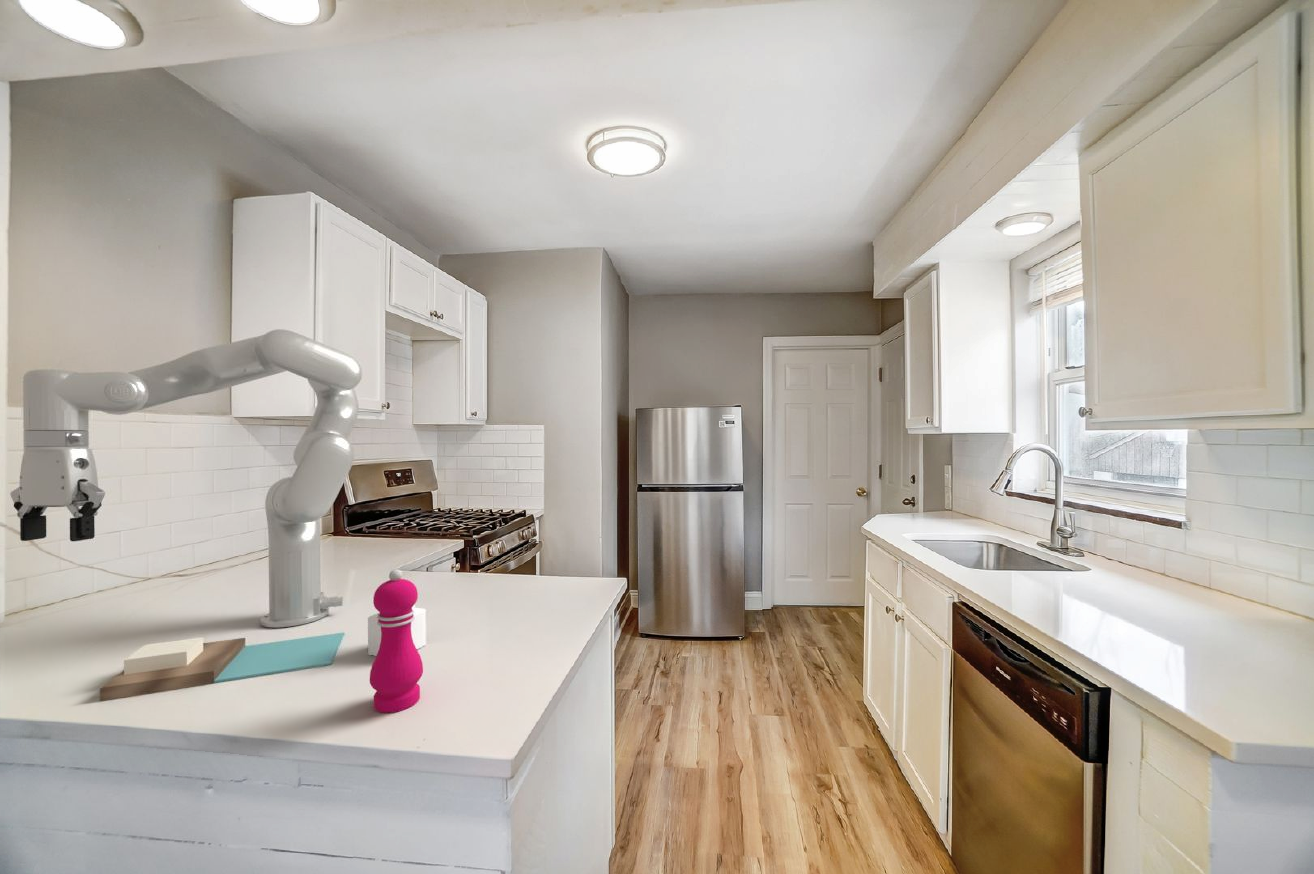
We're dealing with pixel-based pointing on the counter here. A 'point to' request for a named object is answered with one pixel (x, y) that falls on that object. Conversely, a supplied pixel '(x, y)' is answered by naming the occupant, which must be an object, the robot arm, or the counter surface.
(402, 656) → the pepper mill
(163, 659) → the block
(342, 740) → the counter surface
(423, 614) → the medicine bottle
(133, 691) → the board
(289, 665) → the mat
